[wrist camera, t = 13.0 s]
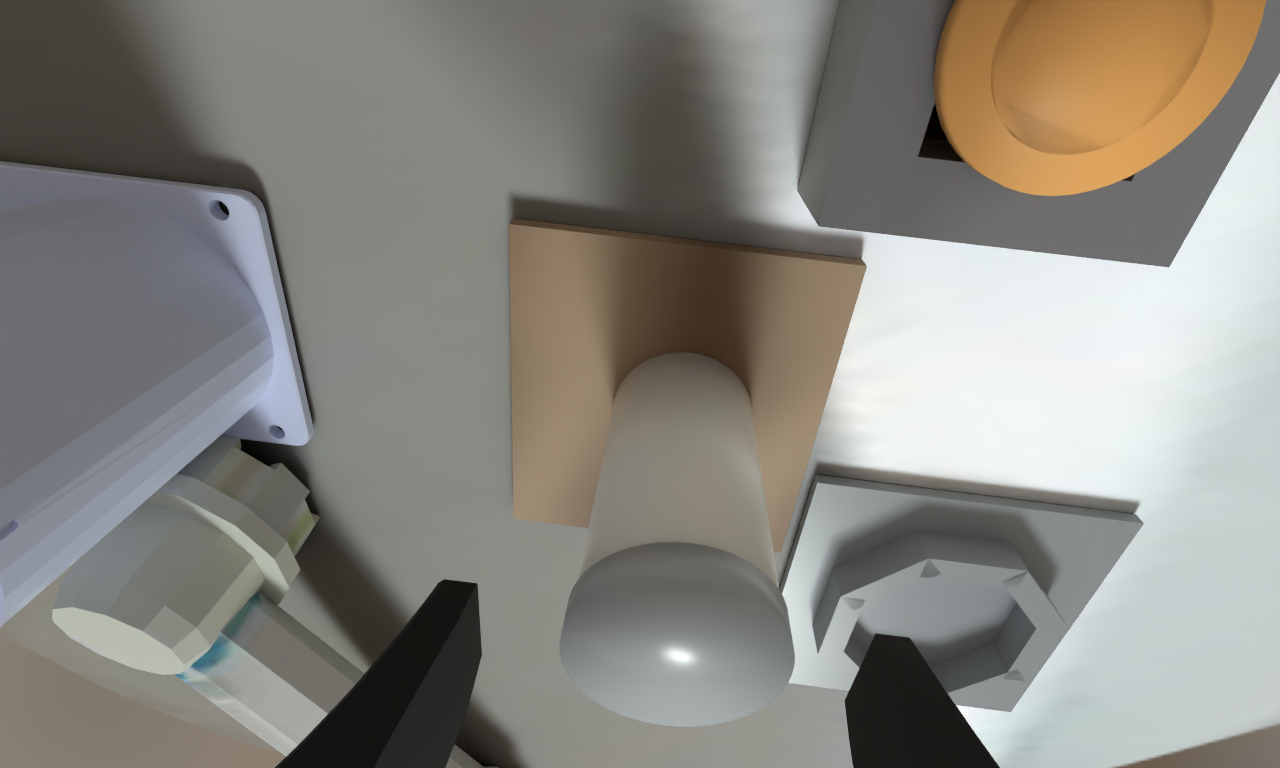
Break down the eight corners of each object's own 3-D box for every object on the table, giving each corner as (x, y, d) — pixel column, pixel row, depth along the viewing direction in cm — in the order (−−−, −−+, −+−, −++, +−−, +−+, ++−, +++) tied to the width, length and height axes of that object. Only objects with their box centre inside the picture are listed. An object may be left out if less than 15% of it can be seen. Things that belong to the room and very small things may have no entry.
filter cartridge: (605, 460, 19) (556, 711, 12) (615, 340, 17) (562, 563, 10) (740, 477, 19) (768, 738, 12) (768, 358, 17) (821, 595, 10)
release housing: (797, 190, 15) (818, 226, 12) (883, -194, 11) (939, -258, 9) (1086, 224, 15) (1168, 267, 12) (1267, -155, 11) (1437, -207, 9)
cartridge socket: (754, 669, 24) (758, 707, 23) (815, 474, 19) (824, 509, 18) (1006, 702, 24) (1025, 743, 23) (1135, 514, 19) (1169, 552, 18)
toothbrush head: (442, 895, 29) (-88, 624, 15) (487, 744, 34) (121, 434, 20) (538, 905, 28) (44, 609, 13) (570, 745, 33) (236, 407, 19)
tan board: (517, 508, 21) (513, 518, 20) (513, 218, 16) (509, 224, 15) (779, 541, 21) (780, 552, 20) (862, 259, 16) (866, 266, 15)
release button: (861, 145, 14) (908, 180, 11) (929, -107, 12) (1012, -152, 9) (1062, 168, 14) (1166, 209, 11) (1170, -81, 12) (1342, -118, 9)
